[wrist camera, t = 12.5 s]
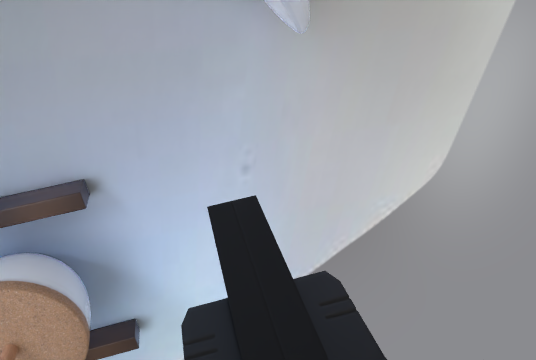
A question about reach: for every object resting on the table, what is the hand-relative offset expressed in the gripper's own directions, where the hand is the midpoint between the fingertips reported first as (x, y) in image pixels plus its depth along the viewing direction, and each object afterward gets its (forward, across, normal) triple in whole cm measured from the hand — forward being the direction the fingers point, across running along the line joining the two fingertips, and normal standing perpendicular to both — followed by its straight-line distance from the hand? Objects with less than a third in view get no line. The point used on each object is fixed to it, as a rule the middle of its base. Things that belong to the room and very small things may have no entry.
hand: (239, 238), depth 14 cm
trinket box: (+25, -17, -16) cm, 34 cm away
